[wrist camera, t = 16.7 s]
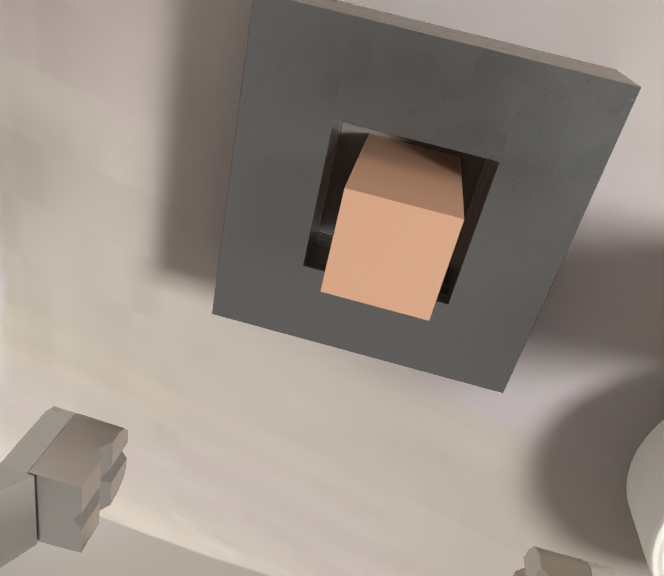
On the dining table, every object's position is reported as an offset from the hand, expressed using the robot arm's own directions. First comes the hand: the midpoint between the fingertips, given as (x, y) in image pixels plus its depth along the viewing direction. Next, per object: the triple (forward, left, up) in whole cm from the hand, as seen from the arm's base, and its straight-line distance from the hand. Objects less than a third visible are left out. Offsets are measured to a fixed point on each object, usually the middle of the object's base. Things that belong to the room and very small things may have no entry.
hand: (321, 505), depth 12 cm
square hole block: (+1, 0, -21) cm, 21 cm away
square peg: (+1, 0, -21) cm, 21 cm away
